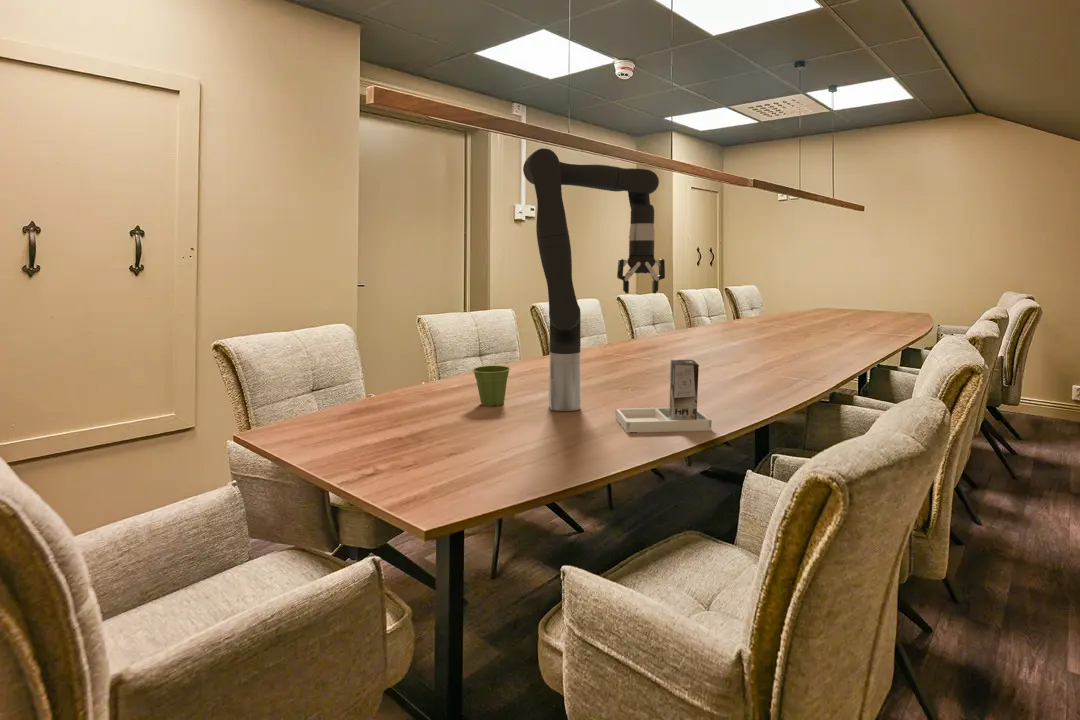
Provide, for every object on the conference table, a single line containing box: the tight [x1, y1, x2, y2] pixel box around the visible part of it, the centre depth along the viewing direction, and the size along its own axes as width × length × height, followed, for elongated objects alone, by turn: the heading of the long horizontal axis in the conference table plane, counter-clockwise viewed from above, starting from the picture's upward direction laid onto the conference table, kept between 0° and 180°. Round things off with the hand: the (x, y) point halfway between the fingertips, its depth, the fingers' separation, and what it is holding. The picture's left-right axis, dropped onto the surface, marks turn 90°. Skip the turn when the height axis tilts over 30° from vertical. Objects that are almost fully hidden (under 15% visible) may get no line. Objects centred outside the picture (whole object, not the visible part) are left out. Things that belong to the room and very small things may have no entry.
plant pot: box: [471, 365, 511, 407], centre depth 191 cm, size 12×12×11 cm
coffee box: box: [669, 359, 700, 420], centre depth 166 cm, size 9×6×16 cm
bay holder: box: [615, 407, 713, 434], centre depth 167 cm, size 22×15×3 cm, turn 94°
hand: (640, 293), depth 188 cm, fingers open, 8 cm apart
